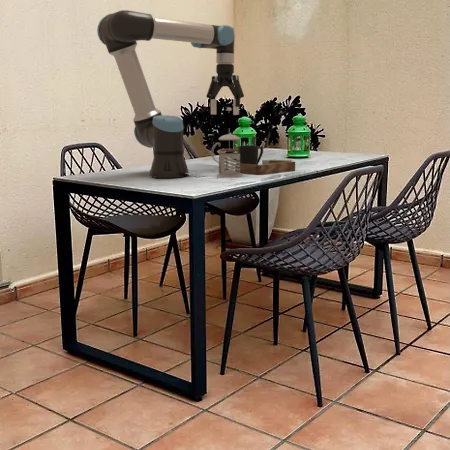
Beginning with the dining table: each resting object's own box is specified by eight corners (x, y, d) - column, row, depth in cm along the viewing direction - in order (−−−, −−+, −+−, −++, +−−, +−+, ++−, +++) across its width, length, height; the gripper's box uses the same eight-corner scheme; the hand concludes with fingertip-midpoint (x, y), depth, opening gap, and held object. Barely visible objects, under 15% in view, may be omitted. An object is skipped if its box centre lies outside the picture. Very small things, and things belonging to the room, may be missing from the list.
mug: (269, 168, 261) (269, 145, 259) (247, 171, 253) (246, 147, 252) (256, 167, 267) (256, 144, 265) (234, 169, 260) (233, 146, 258)
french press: (246, 176, 234) (246, 107, 229) (215, 177, 231) (215, 107, 226) (238, 173, 243) (237, 107, 239) (208, 175, 240) (207, 107, 235)
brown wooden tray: (258, 174, 238) (258, 165, 238) (235, 172, 247) (235, 163, 247) (295, 170, 253) (295, 161, 252) (271, 168, 262) (271, 160, 261)
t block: (286, 168, 264) (286, 160, 263) (262, 167, 269) (262, 160, 268) (293, 166, 271) (293, 159, 270) (269, 165, 276) (269, 158, 275)
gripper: (252, 63, 266) (251, 114, 269) (210, 66, 283) (210, 114, 287) (240, 62, 261) (239, 114, 264) (198, 64, 278) (198, 114, 281)
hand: (224, 114), depth 275 cm, fingers open, 13 cm apart
